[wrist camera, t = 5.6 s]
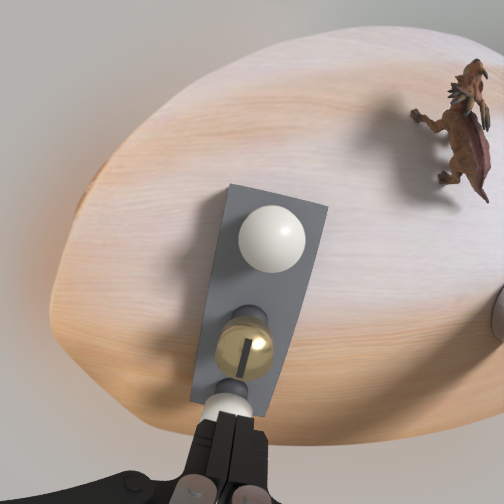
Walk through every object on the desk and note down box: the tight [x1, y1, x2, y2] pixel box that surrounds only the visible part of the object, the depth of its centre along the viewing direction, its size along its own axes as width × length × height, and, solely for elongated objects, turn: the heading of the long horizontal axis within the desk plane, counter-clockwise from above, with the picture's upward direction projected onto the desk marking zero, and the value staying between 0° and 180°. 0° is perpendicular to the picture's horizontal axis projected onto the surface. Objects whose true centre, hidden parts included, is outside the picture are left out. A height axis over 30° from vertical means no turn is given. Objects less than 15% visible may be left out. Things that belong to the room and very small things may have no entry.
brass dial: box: [215, 316, 273, 381], centre depth 20 cm, size 4×4×3 cm
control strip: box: [190, 184, 328, 417], centre depth 26 cm, size 22×8×4 cm, turn 168°
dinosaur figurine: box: [411, 59, 491, 203], centre depth 19 cm, size 14×6×9 cm, turn 22°
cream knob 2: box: [238, 205, 305, 273], centre depth 21 cm, size 4×4×3 cm
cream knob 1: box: [199, 393, 253, 423], centre depth 22 cm, size 4×4×3 cm
